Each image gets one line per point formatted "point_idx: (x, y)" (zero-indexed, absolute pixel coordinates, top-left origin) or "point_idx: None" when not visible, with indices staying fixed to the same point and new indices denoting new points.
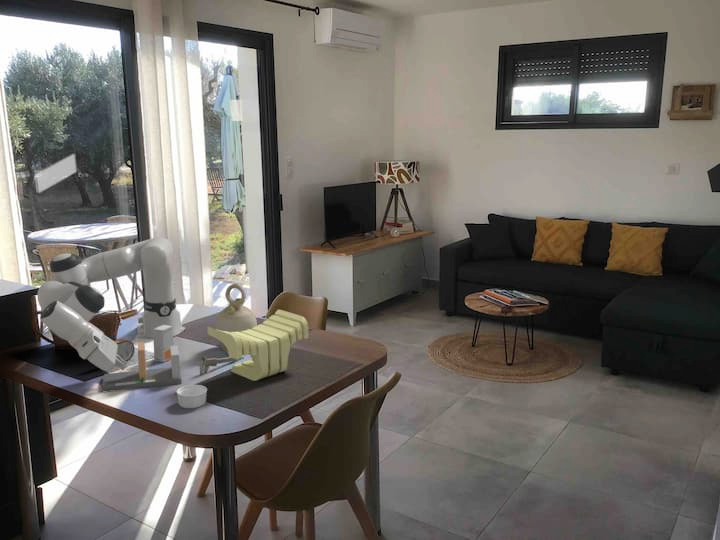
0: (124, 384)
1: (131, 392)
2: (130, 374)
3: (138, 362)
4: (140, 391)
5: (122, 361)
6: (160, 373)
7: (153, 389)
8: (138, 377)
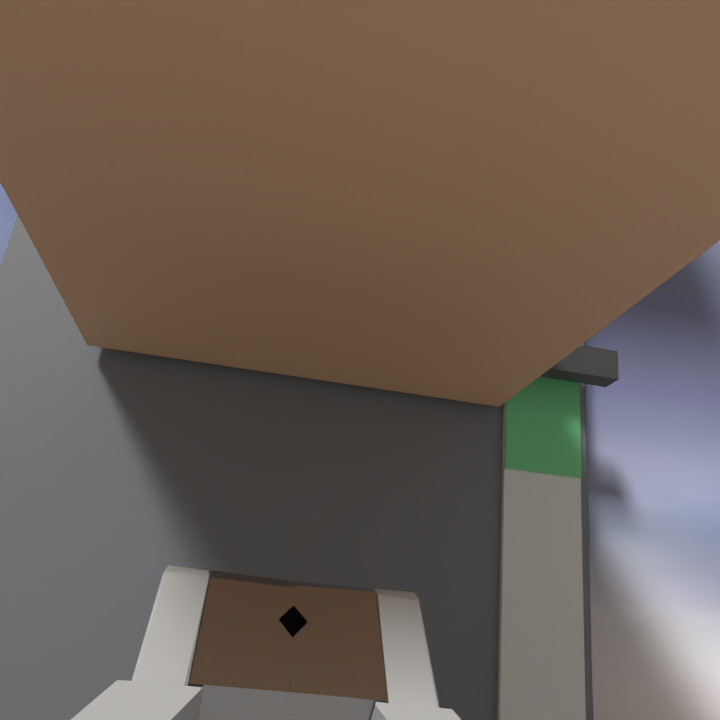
0: (580, 656)
1: (684, 564)
2: (110, 515)
3: (679, 264)
4: (675, 448)
5: (276, 689)
6: None
7: (646, 297)
8: (325, 405)
